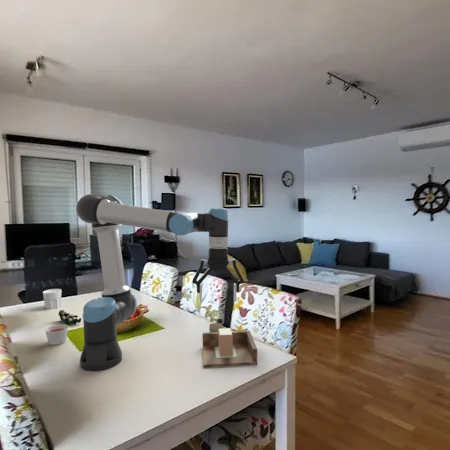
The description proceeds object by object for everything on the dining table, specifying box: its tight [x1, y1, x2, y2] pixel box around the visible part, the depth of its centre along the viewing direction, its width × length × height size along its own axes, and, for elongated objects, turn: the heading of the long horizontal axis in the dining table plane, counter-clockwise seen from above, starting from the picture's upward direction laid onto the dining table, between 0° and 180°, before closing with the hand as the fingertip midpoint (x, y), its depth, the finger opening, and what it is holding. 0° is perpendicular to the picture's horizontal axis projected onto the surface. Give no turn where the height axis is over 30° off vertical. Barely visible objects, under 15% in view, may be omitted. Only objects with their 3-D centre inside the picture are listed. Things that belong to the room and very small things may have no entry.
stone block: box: [208, 322, 225, 332], centre depth 148 cm, size 6×12×5 cm, turn 16°
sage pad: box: [215, 346, 237, 358], centre depth 130 cm, size 8×10×1 cm
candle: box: [44, 324, 69, 346], centre depth 145 cm, size 9×9×6 cm
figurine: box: [58, 309, 82, 327], centre depth 169 cm, size 8×6×15 cm
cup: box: [42, 288, 62, 310], centre depth 196 cm, size 10×10×10 cm
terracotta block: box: [218, 327, 233, 356], centre depth 130 cm, size 7×5×8 cm
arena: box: [202, 330, 258, 368], centre depth 130 cm, size 20×18×6 cm
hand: (217, 300), depth 130 cm, fingers open, 13 cm apart
